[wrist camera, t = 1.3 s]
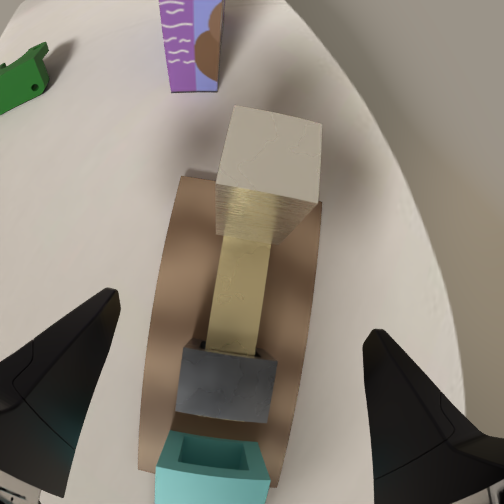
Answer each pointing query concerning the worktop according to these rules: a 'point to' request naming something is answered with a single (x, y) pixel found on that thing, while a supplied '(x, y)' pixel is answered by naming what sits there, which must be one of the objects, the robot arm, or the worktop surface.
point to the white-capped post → (257, 214)
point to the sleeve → (225, 383)
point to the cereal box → (192, 43)
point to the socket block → (210, 471)
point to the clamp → (23, 78)
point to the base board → (197, 322)
